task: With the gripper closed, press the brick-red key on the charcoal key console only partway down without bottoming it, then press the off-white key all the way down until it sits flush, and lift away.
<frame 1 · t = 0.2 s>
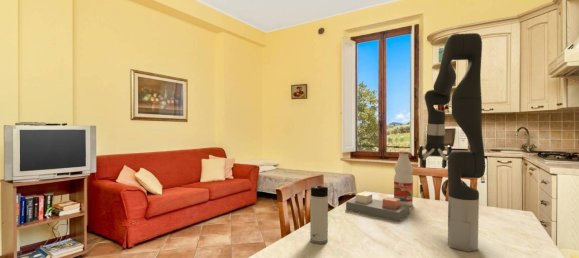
hand: (433, 167, 140), 22 cm above the table, fingers open, 8 cm apart
fruit juice: (403, 204, 160), on the table
key console: (377, 212, 145), on the table
brick-red key: (391, 203, 140), point 6 cm above the table, slide at 0.0 cm
travel mug: (319, 241, 109), on the table
off-white key: (363, 198, 149), point 6 cm above the table, slide at 0.0 cm
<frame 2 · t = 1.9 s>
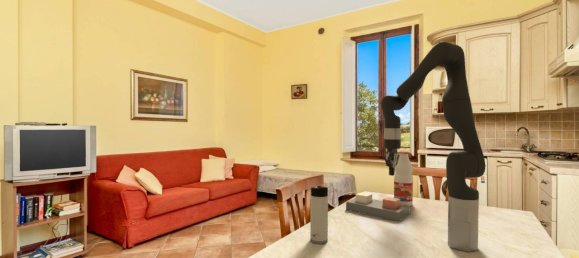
hand: (391, 175, 140), 19 cm above the table, fingers closed
nothing on the table moved.
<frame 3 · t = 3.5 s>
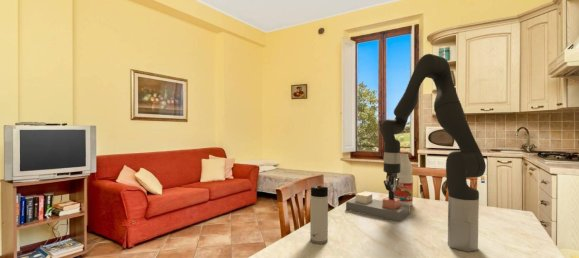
hand: (391, 198, 140), 8 cm above the table, fingers closed
brick-red key: (391, 203, 140), point 5 cm above the table, slide at 0.0 cm, touching gripper
everything else where it was.
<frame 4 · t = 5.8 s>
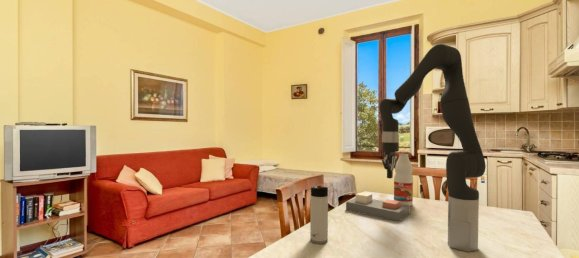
hand: (389, 178, 141), 17 cm above the table, fingers closed
brick-red key: (391, 205, 140), point 4 cm above the table, slide at 1.3 cm
everything else where it was.
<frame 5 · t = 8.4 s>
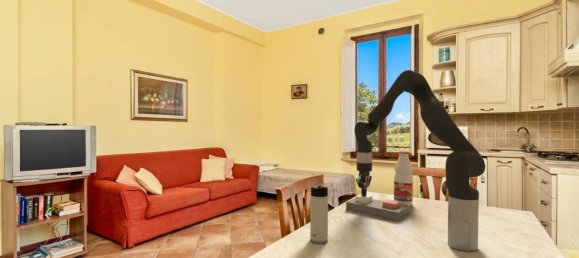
hand: (363, 195, 150), 7 cm above the table, fingers closed
off-white key: (363, 200, 149), point 5 cm above the table, slide at 0.9 cm, touching gripper
everything else where it was.
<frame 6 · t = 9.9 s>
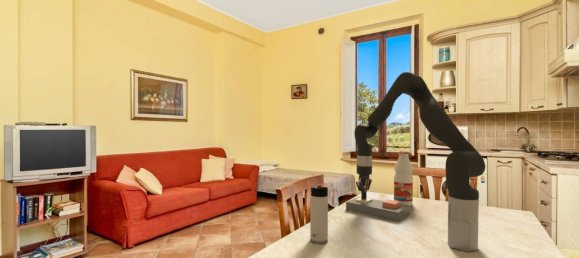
hand: (363, 199, 150), 5 cm above the table, fingers closed
off-white key: (363, 203, 150), point 3 cm above the table, slide at 2.5 cm, touching gripper
everything else where it was.
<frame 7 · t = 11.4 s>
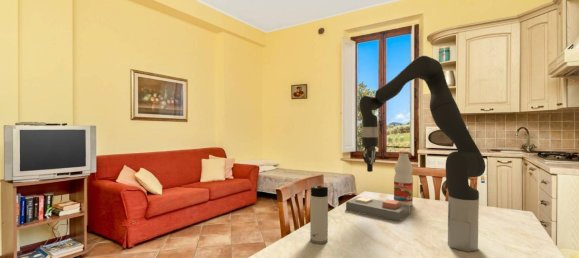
hand: (369, 171, 148), 19 cm above the table, fingers closed
off-white key: (363, 203, 150), point 3 cm above the table, slide at 2.5 cm
everything else where it was.
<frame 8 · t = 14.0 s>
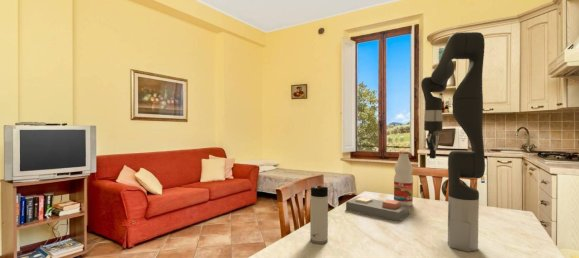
hand: (432, 158, 137), 27 cm above the table, fingers closed
nothing on the table moved.
at the end: brick-red key slide at 1.3 cm; off-white key slide at 2.5 cm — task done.
